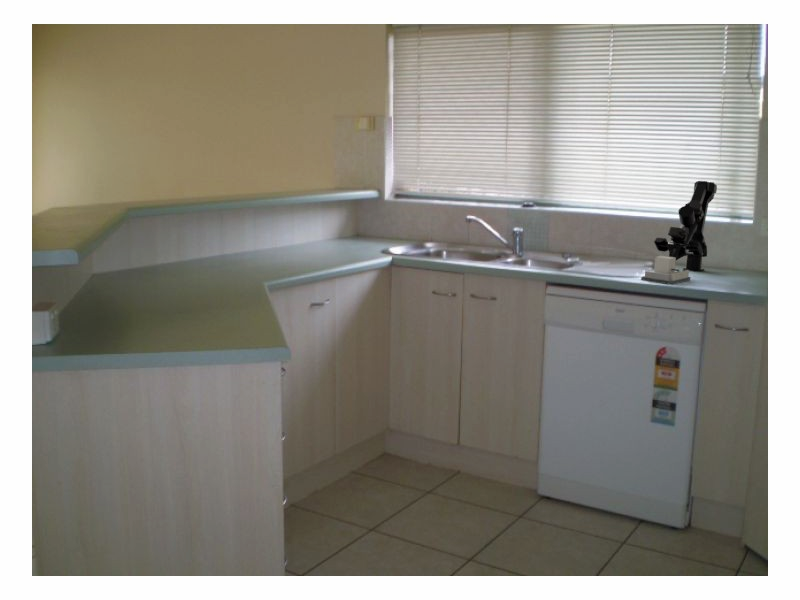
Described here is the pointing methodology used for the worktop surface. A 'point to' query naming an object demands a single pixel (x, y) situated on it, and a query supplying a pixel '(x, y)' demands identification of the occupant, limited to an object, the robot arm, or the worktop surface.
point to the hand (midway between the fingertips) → (669, 263)
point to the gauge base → (667, 277)
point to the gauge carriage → (665, 264)
